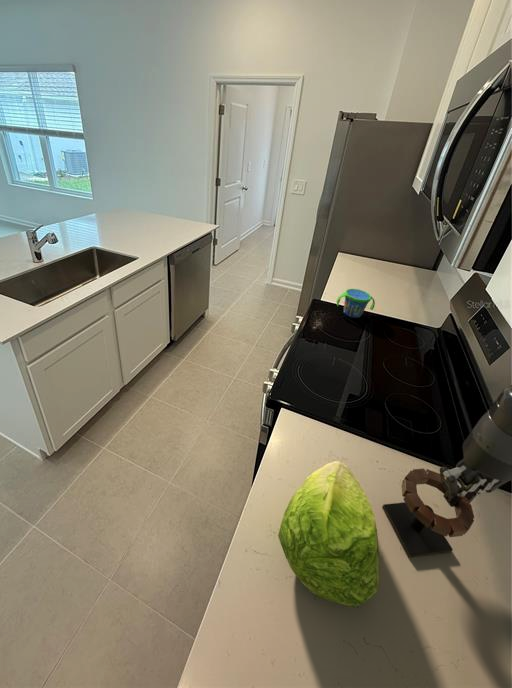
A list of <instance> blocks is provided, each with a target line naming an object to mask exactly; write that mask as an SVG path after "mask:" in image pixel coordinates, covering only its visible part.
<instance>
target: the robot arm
mask: <svg viewBox="0 0 512 688" xmlns="http://www.w3.org/2000/svg"><path fill="white" fill-rule="evenodd" d="M461 448H462V449H461V450H462V453H463V458H462V459H460V460H459V461H458V462H457V463H456V464H455V465H456V467H454V468H451V469H450V468H448V467H447V466H441V467H439V474H440V476H441V482H442V484H443V485H444V486H445V488H446V489H447V491H446V492H445V494H443V498H444V500H445V501H446V502H447V504H448V505H449V507H451V508H455V506H456V505H457V504H458V503H459V502H460V501H461V499H462V498H463V497H464V496H466V498H467V499H468V500H469V502H468V504H471V503H472V502H473V500H474V499H475V498H476V497H477V496H478V497H479V496H482V495H483V493H484V492H485V493H486V494H490V493H492V492H494V491H496V490H497V489H498V488H500V487H501V486H503V485H505V484H506V483H508V482H511V481H512V384H511V385H508V386H506V387H505V388H504V389H503V390H502V391H501V392H500V394H499V395H498V397H496V399H495V400H494V402H493V404H492V405H491V406H490V408H489V409H488V410H487V411H486V412H485V413H484V414H483V415H482V416H481V417H480V418H479V420H478V421H477V423H476V424H475V426H474V427H473V428H472V430H471V431H470V433H469V434H468V436H467V437H466V438H465V440H464V441H463V443H462V447H461Z"/></svg>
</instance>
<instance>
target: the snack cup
mask: <svg viewBox="0 0 512 688" xmlns="http://www.w3.org/2000/svg"><path fill="white" fill-rule="evenodd" d="M343 297H344V303H343V304H344V305H343V313H344V314H345V316H347V317H348V318H354V319H356V318H357V319H358V318H360V317H362V315H363V313H364V312H365V310H366V308H367V306H368V304H369V303H370V302H371V300H372V302H371V305H370V307H369V309H370V310H371V311H373V310H374V308H375V305H376V303H375V302H376V300H375V299H374V297H373V296H372V295H371V294H370V293H368V292H367V291H366V290H365V291H364V290H362V289H358V288H348V289H346V290H345V292H343V293H341V294H340V295H339V296H338V297H337V299H336V306H337V307H339V306H340V305H339V304H340V302H341V299H342V298H343Z"/></svg>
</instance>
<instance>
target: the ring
mask: <svg viewBox="0 0 512 688" xmlns="http://www.w3.org/2000/svg"><path fill="white" fill-rule="evenodd" d="M418 485H419V486H420V485H427V486H430V487H432V488H435V489H437V490H438V491H439V492H441V493H442V494H443V495H444V494H445V492H446V491H447V489H446V488H445V486H444V485H443V484H442V482H441V476H440V472H436V471H433V470H431V469H429V468H426V469H425V468H413V469H412V470H410V471H409V472H408V473H407V474H406V475H405V477H404V478H403V480H402V482H401V496H402V497H403V501H404V502H405V503H406V505H407V506H408V508H409V510H410V511H411V513H413V512H416V513H415V515H414V516H415V517H416V518H417V519H418V520H419V521H420V522H421V523H423V524H424V525H425V526H426V527H427V528H428V527H429V526H431V530H432V531H434V532H437V533H439V534H441V535H444V536H445V538H446V537H449V538H456V537H463V536H464V535H466V534H467V532H469V530H470V529H471V527H472V526H473V524H474V522H475V514H474V510H473V506H472V504H471V503H470V504H468V502H469V500H468V499H467V498H466V496H464V497H463V498H462V499H461V501H460V502H459V503H458V504H457V505H456V506H455V507H454V512H455V515H456V516H455V517H451V518H446V517H444V516H442V515H439V514H436V513H435V512H434V511H433V512H432V511H431V510H430V509H429V508H428V507H426V506H425V505H426V504H425V503H424V502H423V500H422V499H421V497H420V496H419V493H418V489H417V486H418ZM423 503H424V504H423Z"/></svg>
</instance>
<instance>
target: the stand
mask: <svg viewBox="0 0 512 688" xmlns="http://www.w3.org/2000/svg"><path fill="white" fill-rule="evenodd" d="M423 504H424V505H425V506H426V507H428V508H429V509H430V510H431V511H432V512H434V509H433V507H431V506H429V505H427V504H425V503H424V502H423ZM381 509H382V510H383V512H384V514H385V516H386V518H387V520H388V522H389V523H390V525H391V528H392V529H393V532H394V533H395V535H396V537H397V540H398V541H399V543H400V544H401V547H402V549H403V550H404V553H405V554H406V556H407V558H418V557H425V556H433V555H441V554H450V553H451V552H452V551H453V550H454V549H453V547H452V546H451V544H450V543H449V540H447V538H446V536H444V535H441V534H439V533H437V532H434V531H432V530H431V526H429V527H428V528H427V527H426V526H425V525H424V524H423V523H421V522H420V521H419V520H418V519H417V518H416V517H415V516H414V515H415V513H416V512H413V513H411V511H410V510H409V508H408V506H407V505H406V503H405V501H404V502H395V503H385V504H383V505H382V506H381Z"/></svg>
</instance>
